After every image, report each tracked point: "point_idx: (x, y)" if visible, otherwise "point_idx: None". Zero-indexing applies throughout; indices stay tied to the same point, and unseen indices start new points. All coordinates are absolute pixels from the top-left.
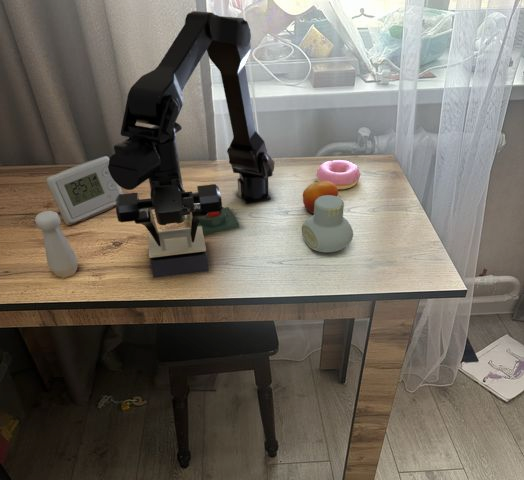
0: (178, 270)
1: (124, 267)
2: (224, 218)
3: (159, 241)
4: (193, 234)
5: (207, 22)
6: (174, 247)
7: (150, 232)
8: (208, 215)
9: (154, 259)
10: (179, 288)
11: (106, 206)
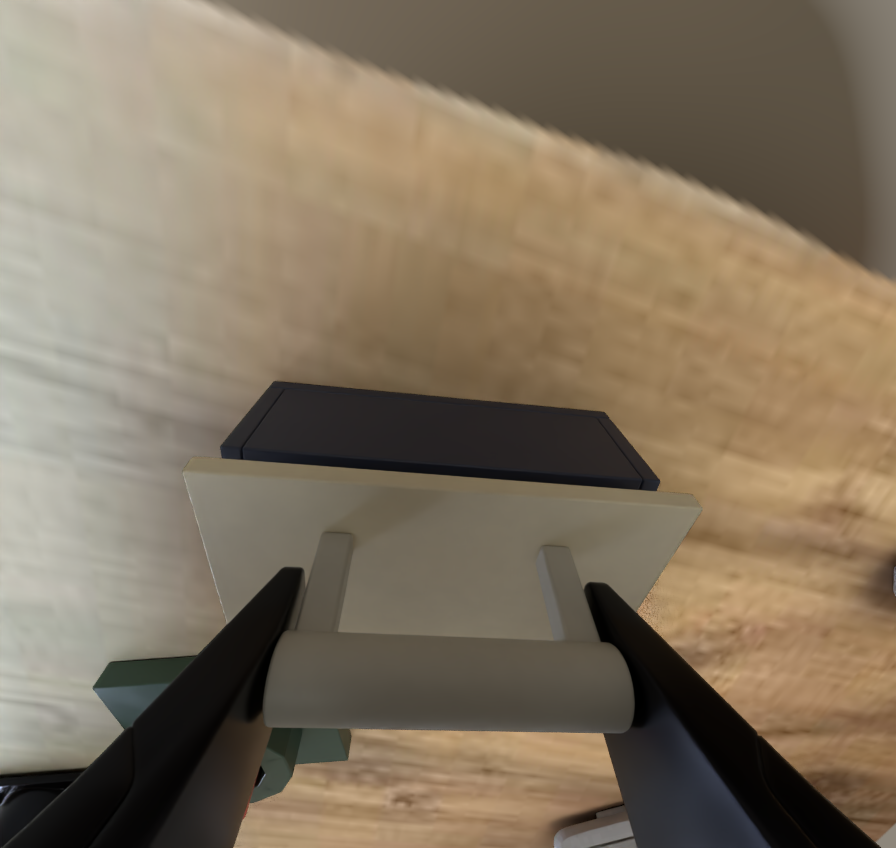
0: (460, 412)
1: (702, 533)
2: None
3: (616, 623)
4: (237, 642)
5: None
6: (466, 558)
7: (784, 762)
8: None
9: None
10: (485, 259)
11: (628, 827)
